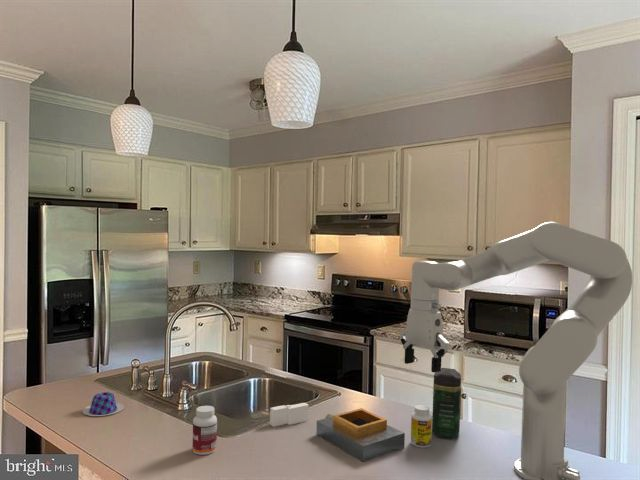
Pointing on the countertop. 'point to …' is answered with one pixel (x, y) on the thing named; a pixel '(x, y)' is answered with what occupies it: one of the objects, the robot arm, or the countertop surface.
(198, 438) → the pill bottle
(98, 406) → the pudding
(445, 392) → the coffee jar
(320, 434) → the grey bottle holder
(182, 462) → the countertop surface
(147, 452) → the countertop surface
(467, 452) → the countertop surface
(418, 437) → the supplement bottle
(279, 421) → the white angular block
